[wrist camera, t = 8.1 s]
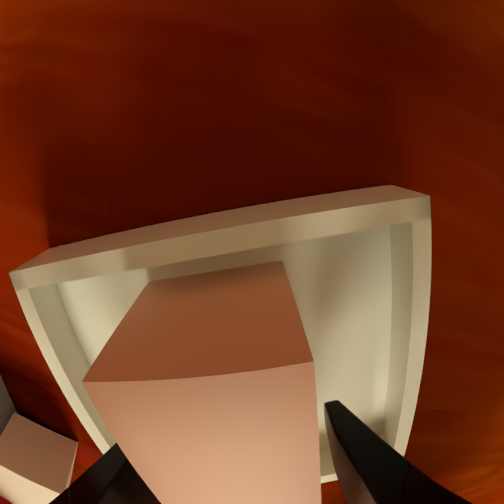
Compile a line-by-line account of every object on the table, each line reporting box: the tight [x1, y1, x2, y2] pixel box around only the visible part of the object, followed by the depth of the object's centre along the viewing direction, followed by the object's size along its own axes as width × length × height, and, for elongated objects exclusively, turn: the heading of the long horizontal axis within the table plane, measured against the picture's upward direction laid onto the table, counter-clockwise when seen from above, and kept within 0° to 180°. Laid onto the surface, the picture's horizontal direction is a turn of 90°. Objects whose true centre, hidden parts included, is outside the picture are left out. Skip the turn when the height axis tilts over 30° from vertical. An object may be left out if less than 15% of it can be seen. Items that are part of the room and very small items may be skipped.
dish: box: [9, 185, 431, 483], centre depth 10 cm, size 11×12×2 cm
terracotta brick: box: [81, 260, 321, 504], centre depth 8 cm, size 8×4×5 cm, turn 9°
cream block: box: [0, 412, 78, 504], centre depth 11 cm, size 4×4×4 cm
